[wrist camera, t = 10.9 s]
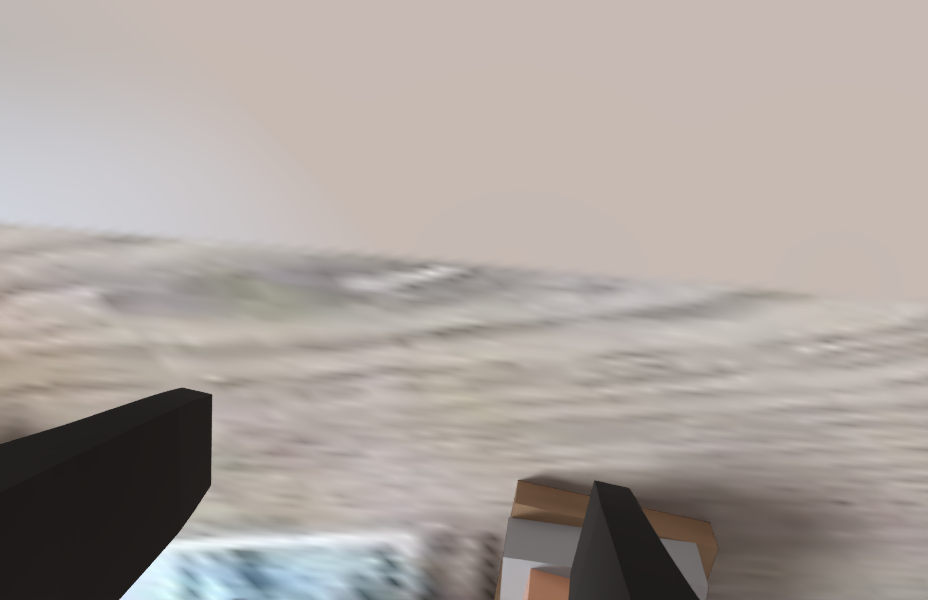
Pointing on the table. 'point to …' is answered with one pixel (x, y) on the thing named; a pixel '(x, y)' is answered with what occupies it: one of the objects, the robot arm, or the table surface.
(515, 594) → the slate slab
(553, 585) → the terracotta block
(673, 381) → the table surface
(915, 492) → the table surface
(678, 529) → the walnut slab
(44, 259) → the table surface
